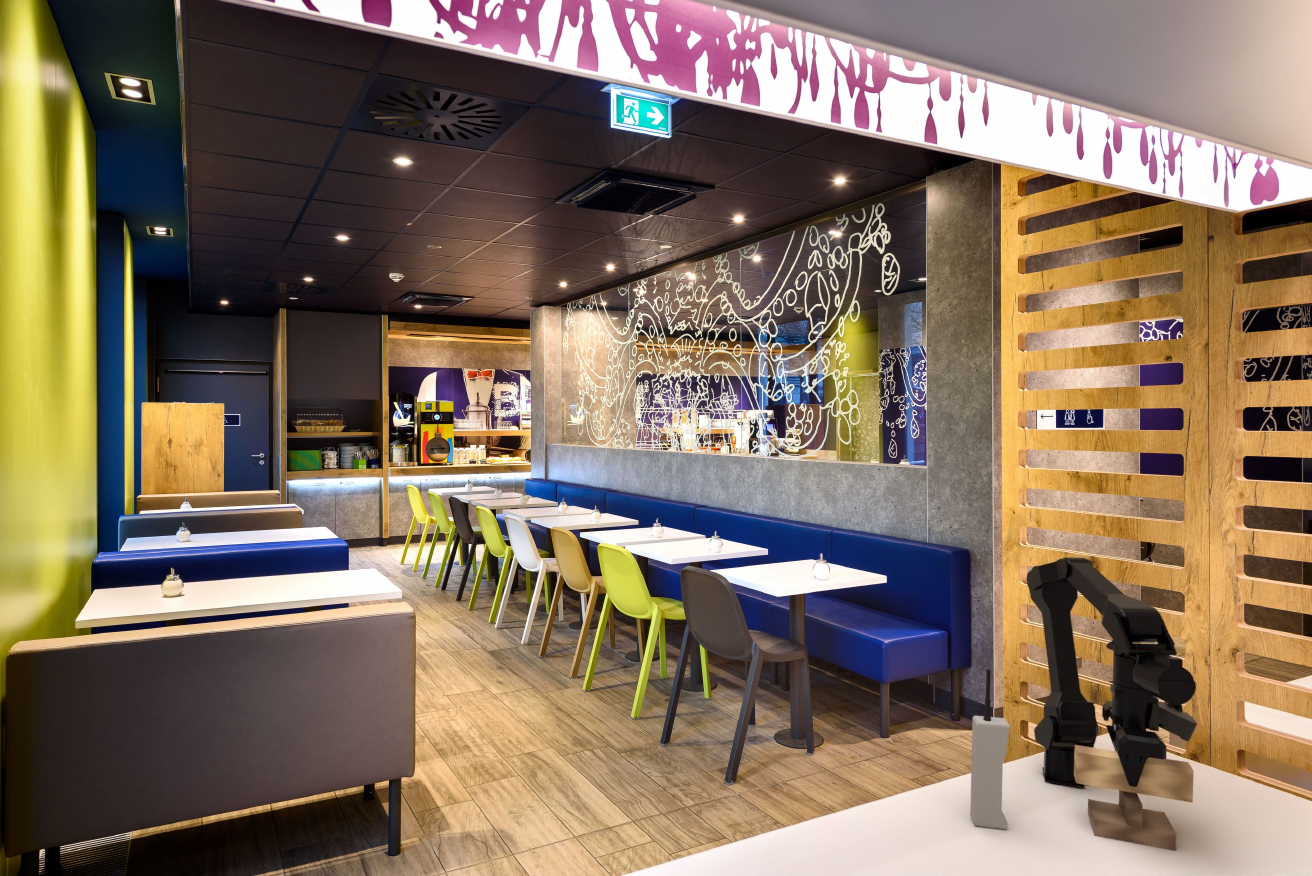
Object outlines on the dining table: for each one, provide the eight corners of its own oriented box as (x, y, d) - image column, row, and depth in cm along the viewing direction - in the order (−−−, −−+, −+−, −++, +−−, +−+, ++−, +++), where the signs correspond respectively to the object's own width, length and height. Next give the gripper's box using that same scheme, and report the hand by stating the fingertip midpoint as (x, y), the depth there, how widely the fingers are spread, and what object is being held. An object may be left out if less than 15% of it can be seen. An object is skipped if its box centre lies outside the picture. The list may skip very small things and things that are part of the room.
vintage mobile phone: (1007, 830, 126) (1011, 673, 126) (974, 826, 127) (978, 671, 127) (1002, 819, 130) (1005, 667, 130) (970, 816, 131) (973, 665, 131)
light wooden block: (1076, 783, 128) (1077, 752, 128) (1073, 774, 131) (1074, 744, 132) (1192, 802, 122) (1193, 770, 122) (1187, 793, 125) (1187, 762, 125)
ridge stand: (1094, 835, 125) (1095, 797, 125) (1087, 814, 133) (1088, 778, 133) (1175, 850, 121) (1176, 811, 121) (1164, 827, 128) (1165, 790, 128)
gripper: (1208, 709, 115) (1205, 816, 115) (1178, 676, 133) (1176, 769, 132) (1120, 698, 119) (1118, 801, 119) (1102, 667, 137) (1100, 757, 137)
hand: (1130, 781), depth 127 cm, fingers closed on light wooden block, 3 cm apart
